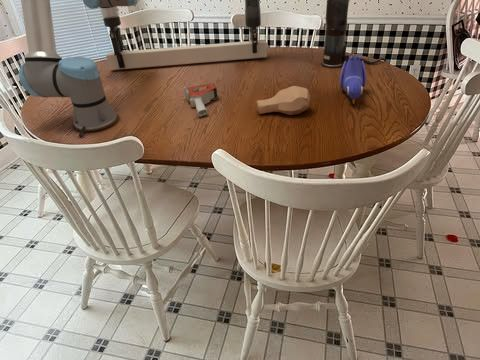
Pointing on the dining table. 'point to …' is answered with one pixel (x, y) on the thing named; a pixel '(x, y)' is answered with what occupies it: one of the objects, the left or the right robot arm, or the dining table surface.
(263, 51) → the post
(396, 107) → the dining table surface
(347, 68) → the toy
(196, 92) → the tape dispenser
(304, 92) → the squash
